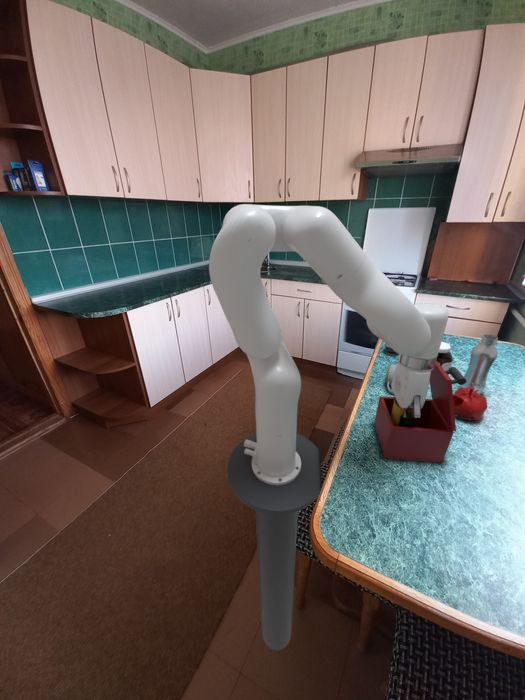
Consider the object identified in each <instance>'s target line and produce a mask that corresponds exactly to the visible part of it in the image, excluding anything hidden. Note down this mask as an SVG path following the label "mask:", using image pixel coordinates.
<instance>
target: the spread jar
mask: <svg viewBox="0 0 525 700" xmlns="http://www.w3.org/2000/svg"><path fill="white" fill-rule="evenodd" d="M451 348H452V347H451V345H450V344H449V343H447V342H445V341H442V342H441V345H440V349H439V352H438V356H437V359H436V361H437V362H438V363H439V364H440V366H441V367H442V368H443V370H444V371H446V370H448V369H449V368H451V367H453V366H452V365H453V361H454V360H453V354H452V353H451Z"/></svg>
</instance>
